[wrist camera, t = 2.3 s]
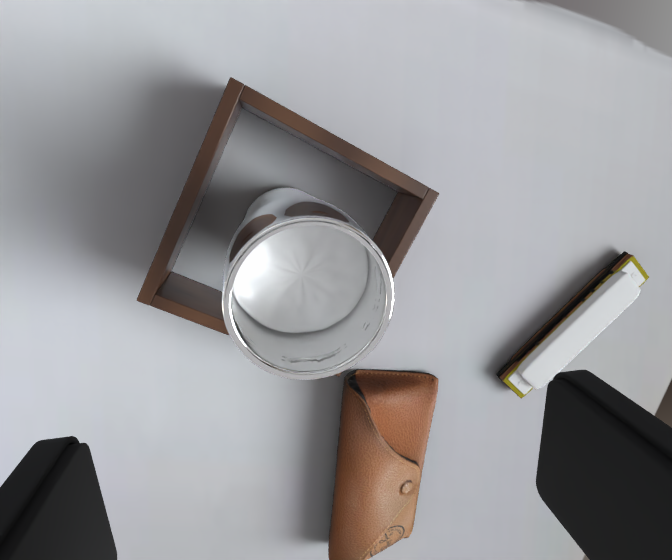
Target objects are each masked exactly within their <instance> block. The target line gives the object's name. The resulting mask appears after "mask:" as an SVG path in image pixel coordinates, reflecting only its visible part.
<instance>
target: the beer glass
mask: <svg viewBox="0 0 672 560" xmlns="http://www.w3.org/2000/svg"><path fill="white" fill-rule="evenodd" d="M393 307H394V282H393V277H392V273H391V270H390V267H389V265H388V263H387V260H386V259H385V257H384V255H383V253H382V252H381V250H380V249H379V248H378V246H377V245H376V244H375V243H374V242H373V241H372V240H371V239H370V237H369V236H368V235H367V234H366V232H365V231H364V230H363V229H362V227H361V226H360V225H359V224H358V223H357V222H356V221H355V220H354V219H353V218H351V217H350V216H349V215H348V214H347V213H345V212H344V211H343V210H341V209H340V208H338V207H336V206H334V205H332V204H330V203H328V202H326V201H324V200H321V199H318V198H314V197H313V196H311V195H310V194H308V193H306V192H304V191H302V190H299V189H296V188H289V187H284V188H276V189H273V190H270V191H268V192H266V193H264V194H262V195H261V196H259V197H258V198H257V199H256V200H255V201H254V202H253V203H252V204H251V206H250V207H249V209H248V211H247V213H246V215H245V218H244V221H243V222H242V223H241V224H240V226H239V227H238V229H237V231H236V232H235V234H234V236H233V238H232V240H231V243H230V245H229V248H228V251H227V254H226V259H225V264H224V271H223V292H222V311H223V317H224V321H225V325H226V328H227V330H228V333H229V335H230V337H231V339H232V340H233V342H234V344H235V345H236V346H237V348H238V349H239V350H240V352H241V353H242V354H243V355H244V356H245V357H246V358H247V359H248V360H250V361H251V362H252V363H253V364H255V365H256V366H258V367H259V368H261V369H263V370H265V371H267V372H269V373H271V374H274V375H277V376H280V377H284V378H289V379H296V380H313V379H320V378H325V377H329V376H332V375H335V374H338V373H341V372H343V371H345V370H347V369H349V368H351V367H352V366H354V365H356V364H357V363H358V362H360V361H361V360H362V359H364V358H365V357H366V356H367V355H368V354H369V353H370V352H371V351H372V350H373V349H374V348H375V347H376V345H377V344H378V343H379V341H380V340H381V338H382V337H383V335H384V333H385V331H386V329H387V327H388V325H389V322H390V319H391V316H392V312H393Z"/></svg>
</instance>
